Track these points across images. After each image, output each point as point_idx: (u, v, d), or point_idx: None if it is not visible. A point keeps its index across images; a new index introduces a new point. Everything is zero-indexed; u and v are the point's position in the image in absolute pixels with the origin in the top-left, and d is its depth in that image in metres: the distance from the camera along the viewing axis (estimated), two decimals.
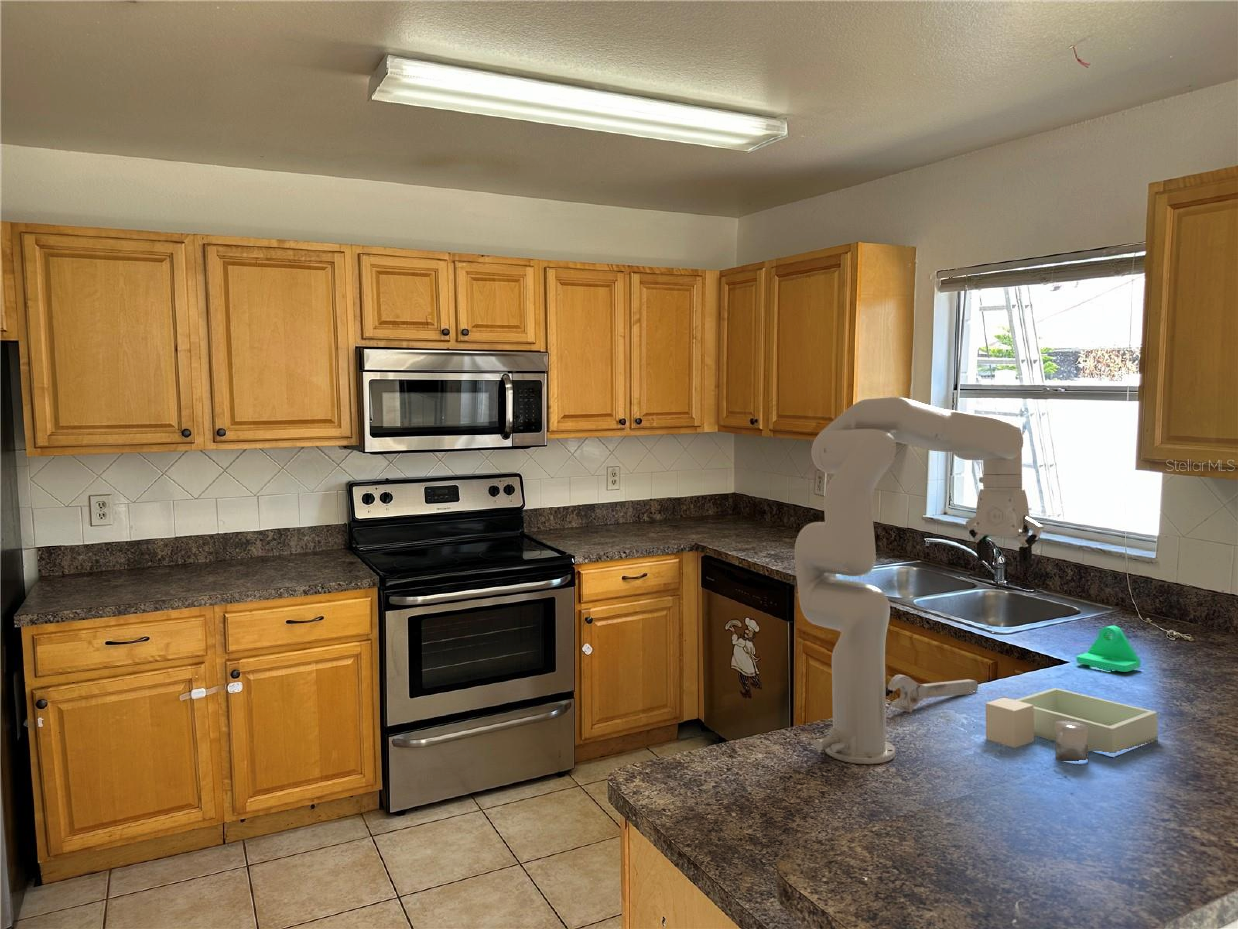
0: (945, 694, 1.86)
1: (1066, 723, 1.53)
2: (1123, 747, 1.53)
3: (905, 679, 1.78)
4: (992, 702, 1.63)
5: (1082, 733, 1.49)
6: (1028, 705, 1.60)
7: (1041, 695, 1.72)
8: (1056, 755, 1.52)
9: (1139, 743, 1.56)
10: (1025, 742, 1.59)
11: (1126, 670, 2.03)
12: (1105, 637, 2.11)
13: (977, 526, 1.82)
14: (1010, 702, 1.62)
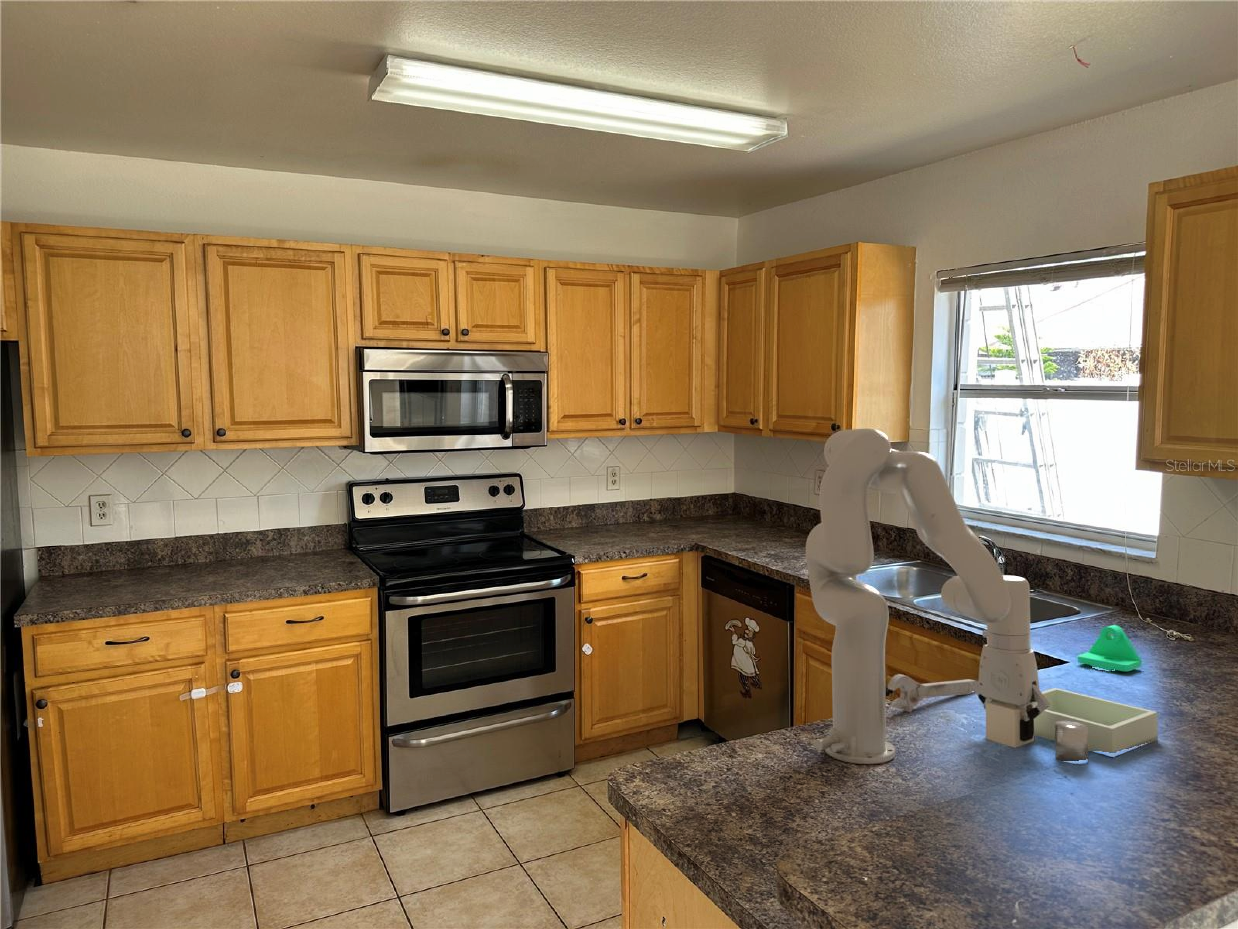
0: (945, 694, 1.86)
1: (1066, 723, 1.53)
2: (1123, 747, 1.53)
3: (905, 679, 1.78)
4: (992, 702, 1.63)
5: (1081, 733, 1.49)
6: None
7: None
8: (1056, 755, 1.52)
9: (1139, 743, 1.56)
10: (1025, 742, 1.59)
11: (1127, 670, 2.03)
12: (1106, 637, 2.11)
13: (980, 687, 1.64)
14: None
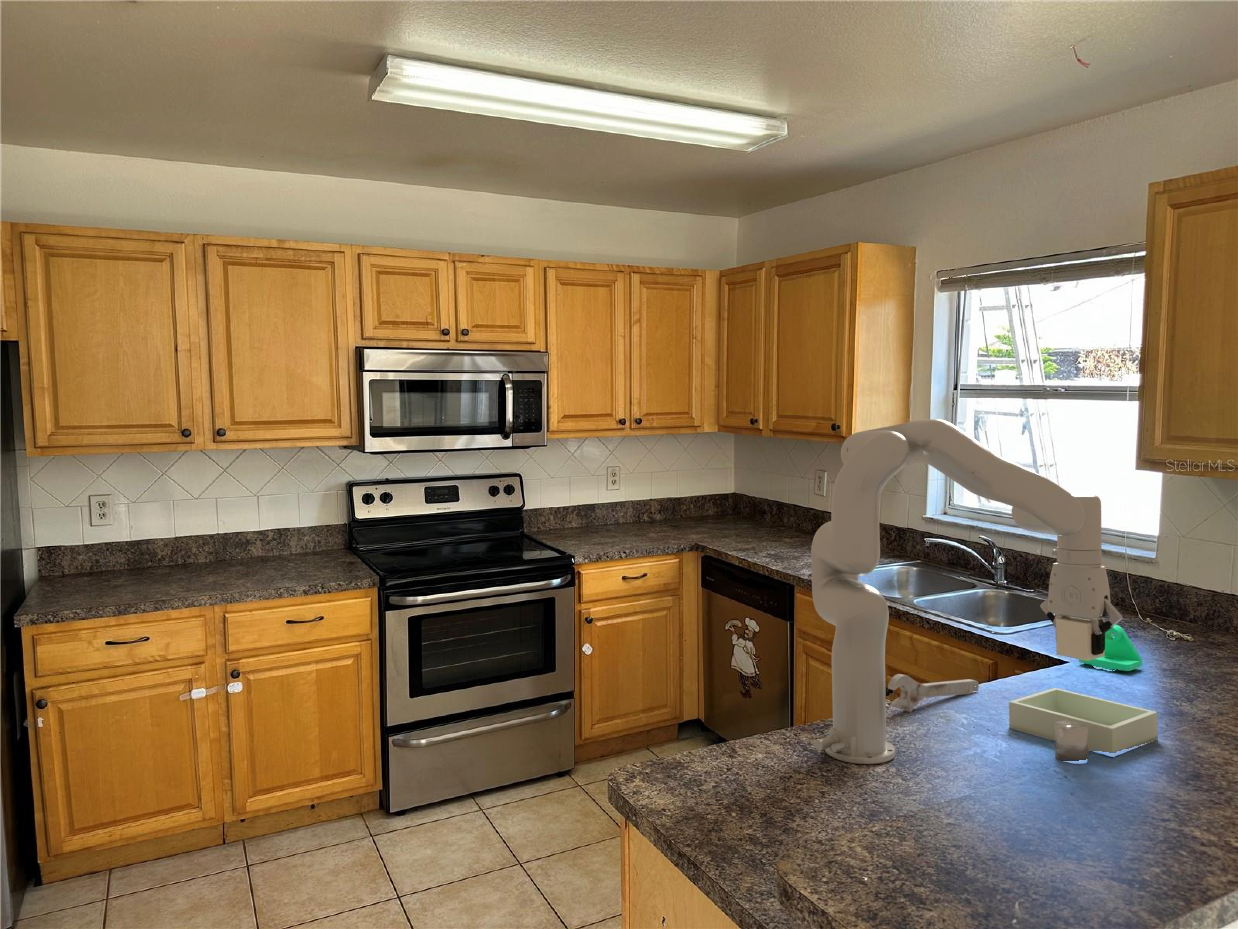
0: (945, 694, 1.86)
1: (1066, 723, 1.53)
2: (1123, 747, 1.53)
3: (905, 678, 1.78)
4: (1062, 618, 1.65)
5: (1082, 733, 1.49)
6: None
7: (1041, 695, 1.72)
8: (1056, 755, 1.52)
9: (1139, 743, 1.56)
10: (1096, 656, 1.61)
11: (1129, 669, 2.04)
12: (1107, 636, 2.12)
13: (1050, 604, 1.66)
14: (1080, 618, 1.64)
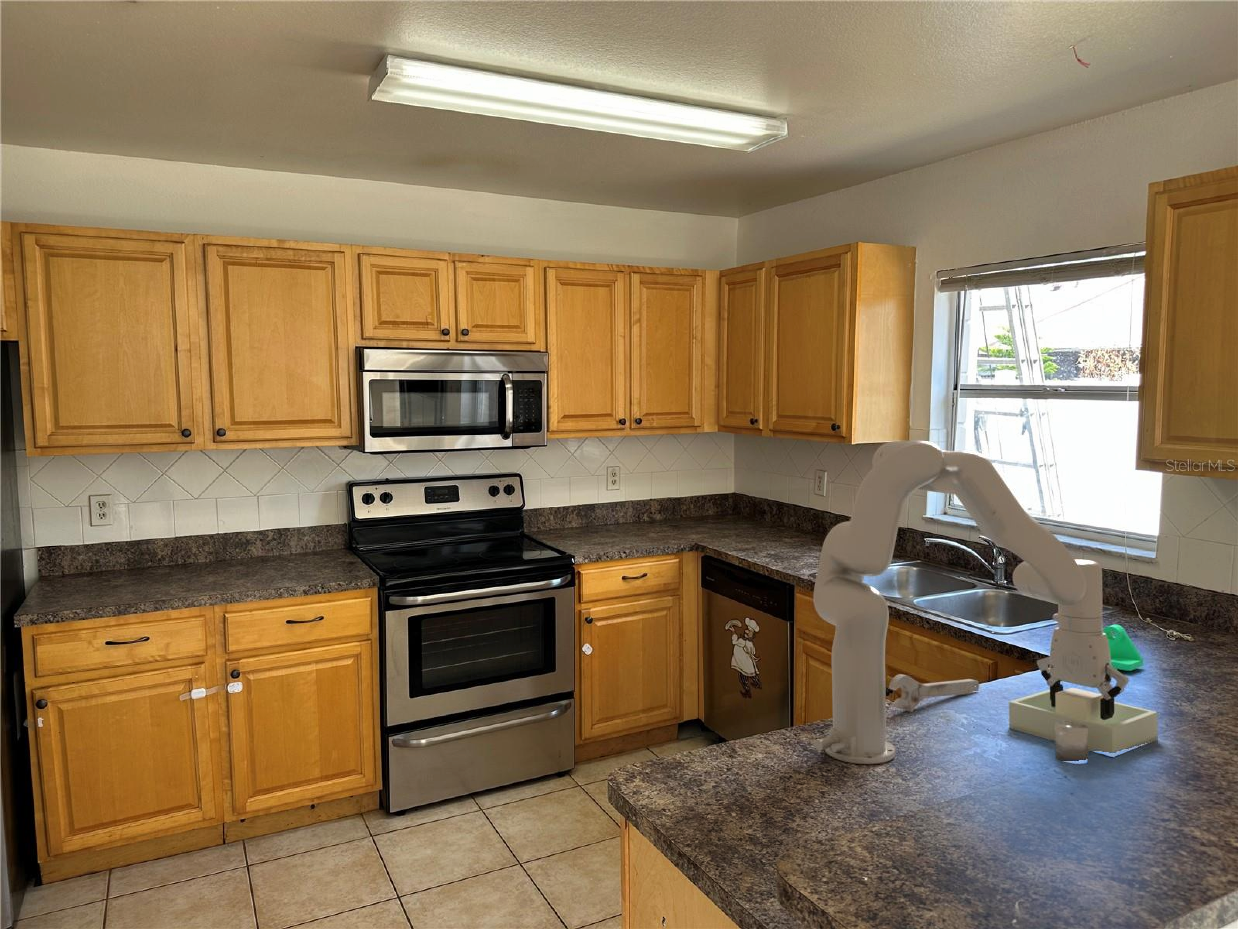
0: (946, 694, 1.86)
1: (1066, 723, 1.53)
2: (1123, 747, 1.53)
3: (906, 678, 1.78)
4: (1062, 692, 1.65)
5: (1082, 733, 1.49)
6: (1098, 695, 1.63)
7: (1041, 695, 1.72)
8: (1056, 755, 1.52)
9: (1139, 743, 1.56)
10: None
11: (1130, 669, 2.04)
12: (1108, 636, 2.12)
13: (1051, 670, 1.66)
14: (1079, 692, 1.65)
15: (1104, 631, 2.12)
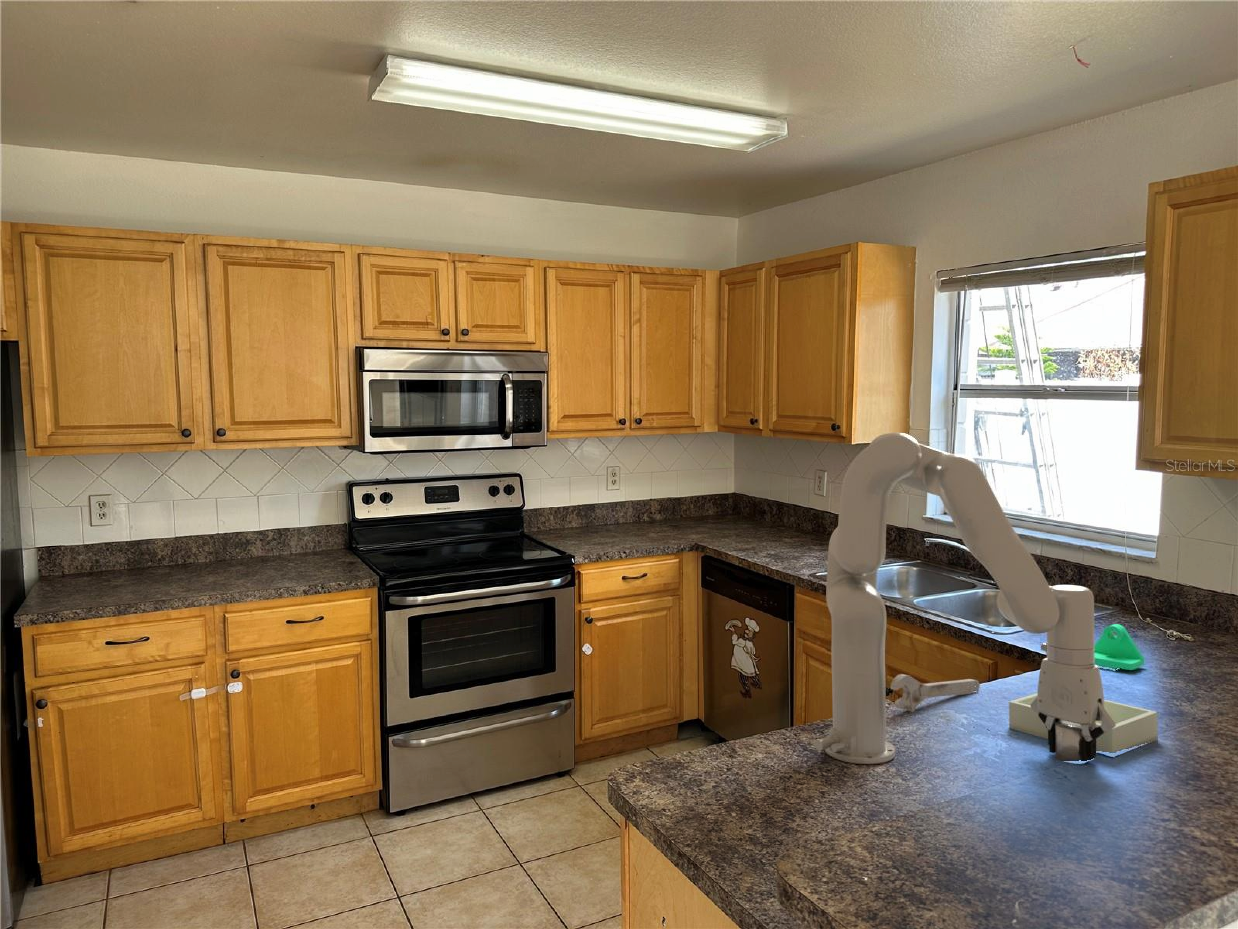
0: (947, 694, 1.86)
1: (1066, 722, 1.53)
2: (1123, 747, 1.53)
3: (907, 678, 1.78)
4: None
5: (1082, 733, 1.49)
6: None
7: None
8: (1056, 755, 1.52)
9: (1139, 743, 1.56)
10: None
11: (1132, 668, 2.05)
12: (1109, 636, 2.12)
13: (1039, 704, 1.53)
14: None
15: (1105, 631, 2.13)
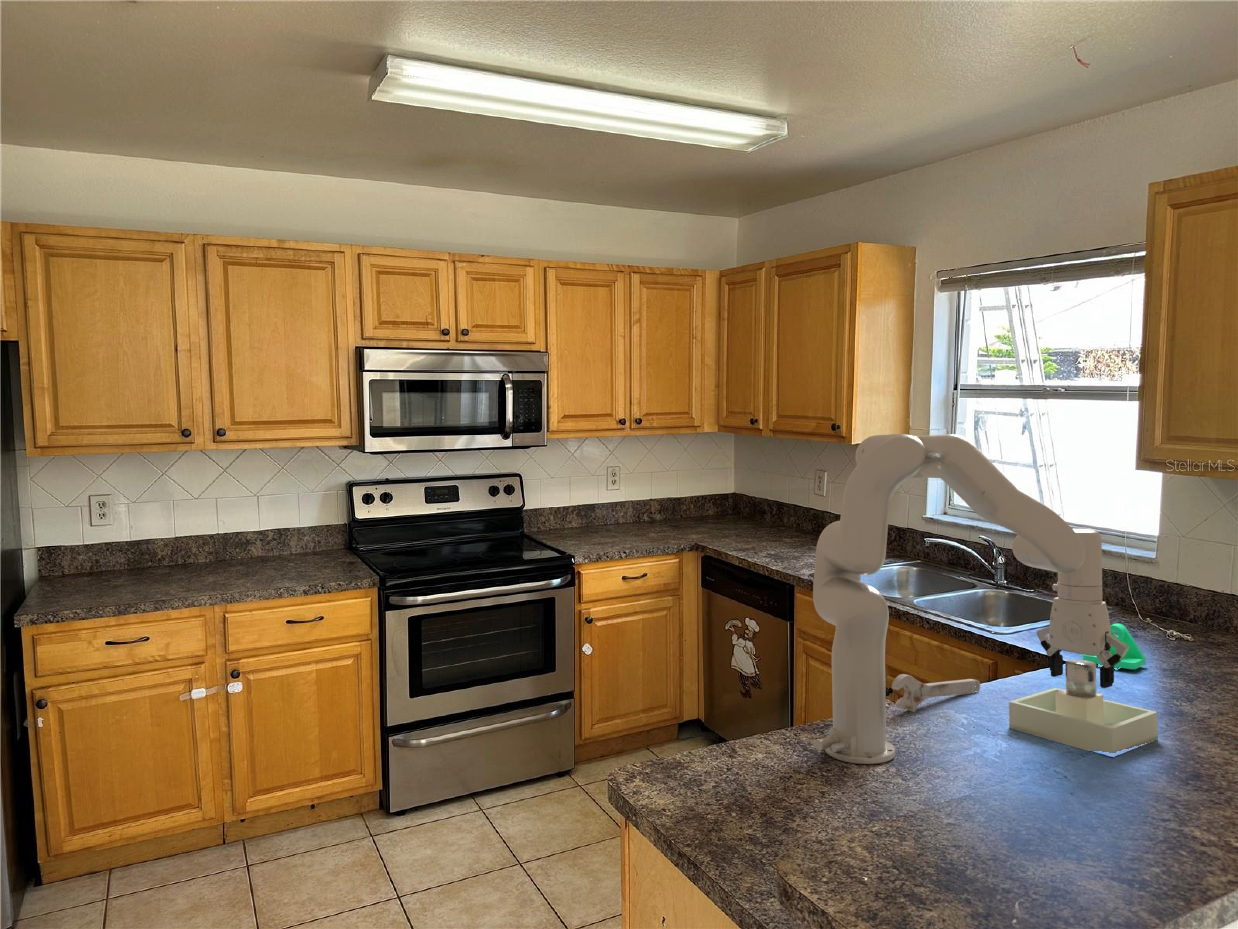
0: (948, 693, 1.87)
1: (1075, 661, 1.65)
2: (1123, 747, 1.53)
3: (908, 678, 1.78)
4: (1062, 692, 1.65)
5: (1090, 669, 1.61)
6: (1098, 695, 1.63)
7: (1041, 695, 1.72)
8: (1067, 690, 1.64)
9: (1139, 743, 1.56)
10: None
11: (1134, 667, 2.05)
12: None
13: (1051, 639, 1.66)
14: None
15: None
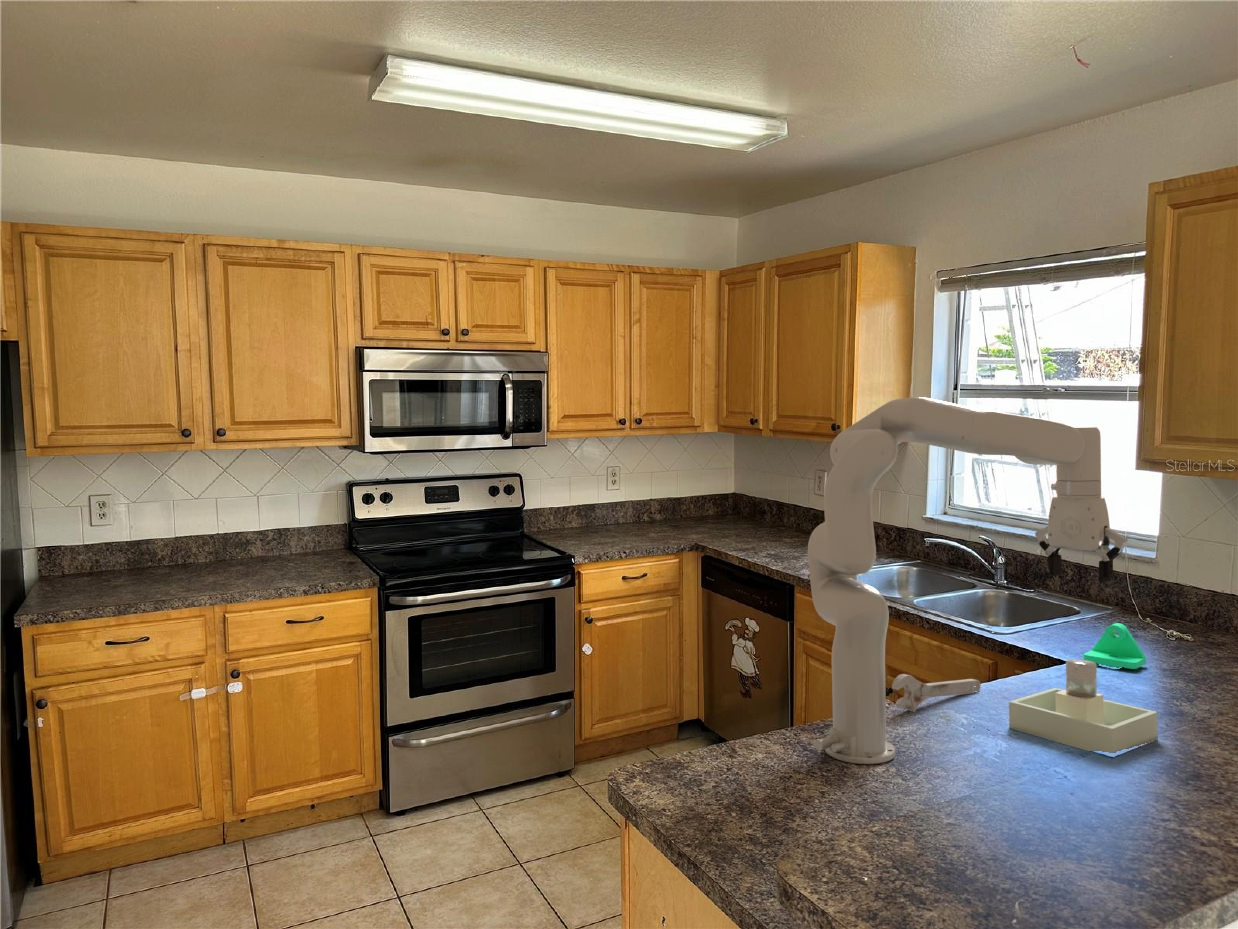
0: (948, 693, 1.87)
1: (1076, 660, 1.65)
2: (1123, 747, 1.53)
3: (909, 678, 1.79)
4: (1062, 692, 1.65)
5: (1090, 668, 1.61)
6: (1098, 695, 1.63)
7: (1041, 695, 1.72)
8: (1066, 689, 1.64)
9: (1139, 743, 1.56)
10: None
11: (1135, 667, 2.05)
12: (1111, 635, 2.13)
13: (1050, 537, 1.65)
14: None
15: (1107, 630, 2.13)
